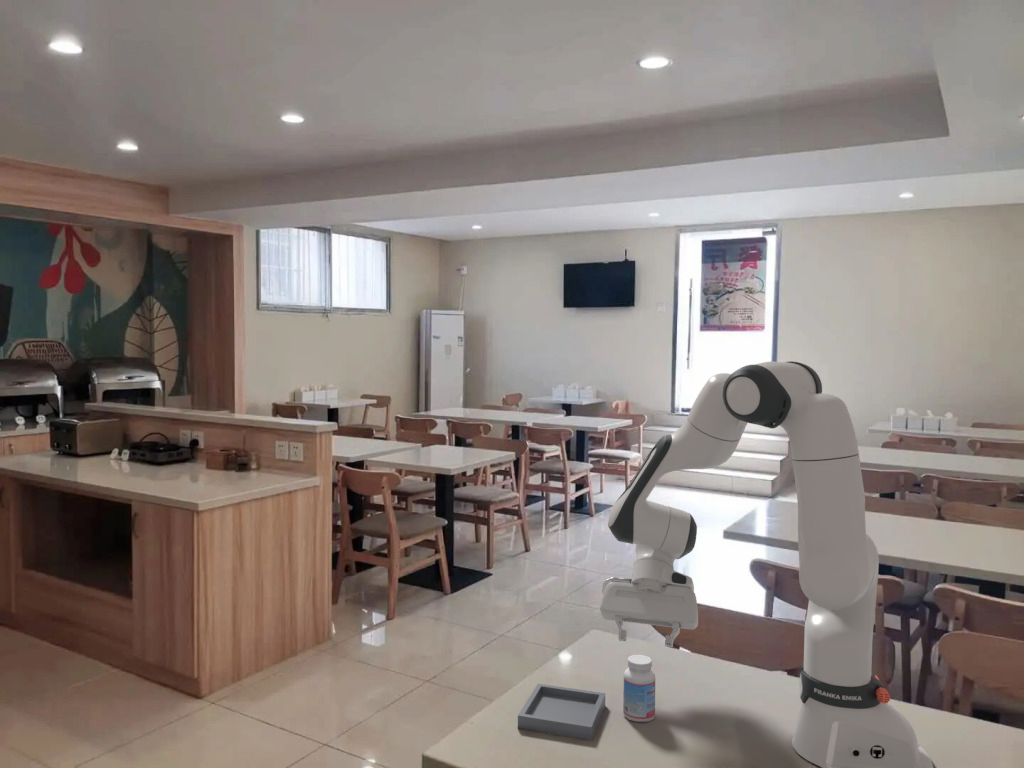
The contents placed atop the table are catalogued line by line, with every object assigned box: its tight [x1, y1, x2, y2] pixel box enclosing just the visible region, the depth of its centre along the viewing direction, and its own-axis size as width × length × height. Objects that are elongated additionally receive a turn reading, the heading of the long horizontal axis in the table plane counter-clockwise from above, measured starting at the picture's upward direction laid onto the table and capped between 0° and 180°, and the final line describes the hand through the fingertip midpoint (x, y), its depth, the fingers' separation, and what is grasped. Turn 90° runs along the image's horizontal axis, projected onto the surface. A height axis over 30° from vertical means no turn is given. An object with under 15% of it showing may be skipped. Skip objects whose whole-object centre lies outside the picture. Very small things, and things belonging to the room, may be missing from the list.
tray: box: [517, 683, 606, 741], centre depth 147 cm, size 14×14×2 cm
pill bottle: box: [622, 654, 656, 723], centre depth 147 cm, size 6×6×11 cm
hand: (645, 642), depth 155 cm, fingers open, 8 cm apart
